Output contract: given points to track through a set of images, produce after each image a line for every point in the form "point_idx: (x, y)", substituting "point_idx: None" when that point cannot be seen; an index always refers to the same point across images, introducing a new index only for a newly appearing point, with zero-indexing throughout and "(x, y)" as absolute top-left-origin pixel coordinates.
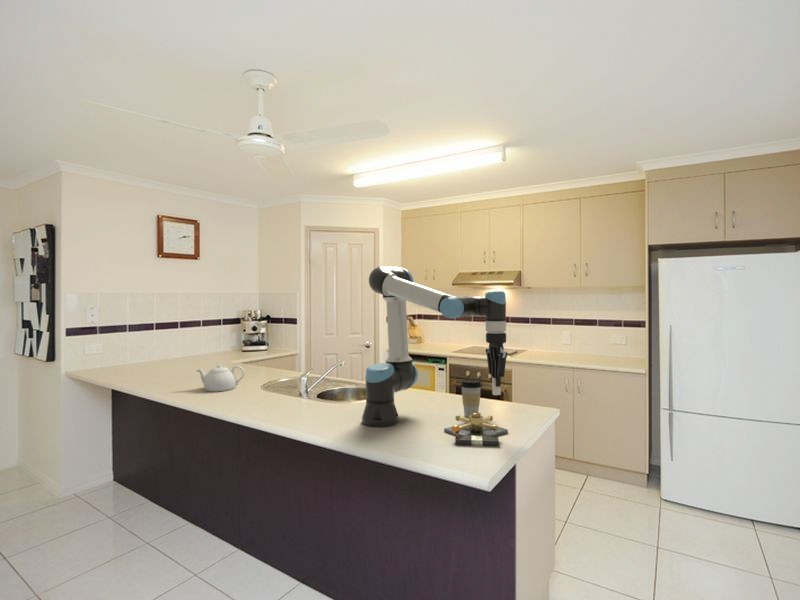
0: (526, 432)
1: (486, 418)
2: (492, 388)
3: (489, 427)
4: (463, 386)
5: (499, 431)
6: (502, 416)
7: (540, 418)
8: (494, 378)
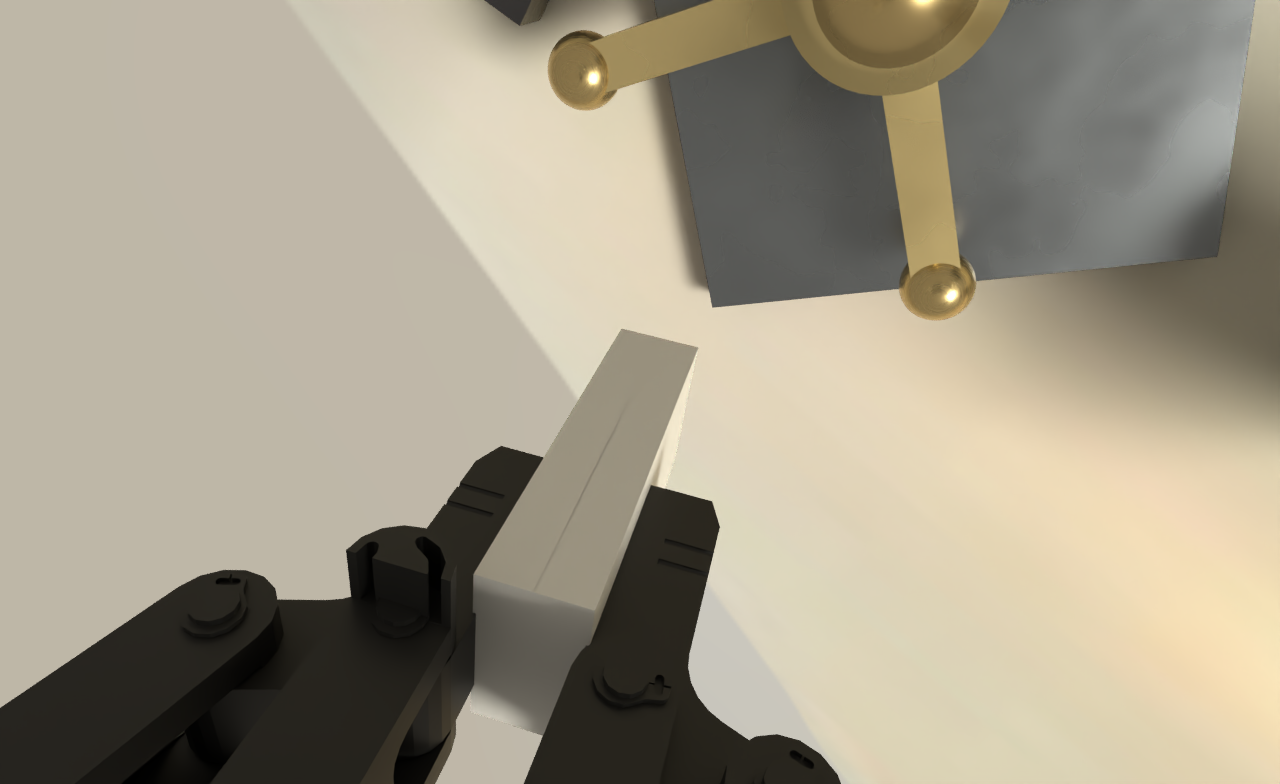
0: None
1: (909, 204)
2: (669, 414)
3: (638, 25)
4: None
5: (705, 197)
6: (1146, 594)
7: (870, 728)
8: (480, 574)
